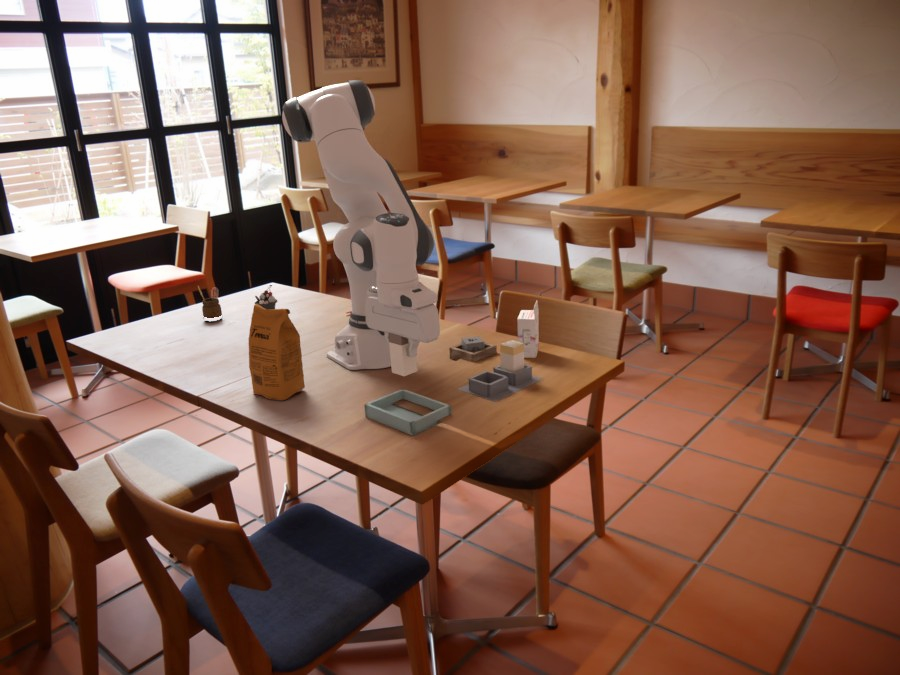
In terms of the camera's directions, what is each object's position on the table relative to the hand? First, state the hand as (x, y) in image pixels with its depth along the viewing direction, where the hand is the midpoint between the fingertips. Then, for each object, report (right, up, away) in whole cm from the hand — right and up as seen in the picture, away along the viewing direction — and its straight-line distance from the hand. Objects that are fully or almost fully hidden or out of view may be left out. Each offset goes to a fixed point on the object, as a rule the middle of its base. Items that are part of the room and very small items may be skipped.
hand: (403, 354), depth 160 cm
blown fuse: (0, -4, +1) cm, 4 cm away
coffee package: (-32, -10, +22) cm, 40 cm away
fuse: (+25, -6, +22) cm, 34 cm away
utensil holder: (-68, +9, +85) cm, 110 cm away
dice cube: (+16, -2, +41) cm, 44 cm away
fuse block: (+22, -9, +19) cm, 31 cm away
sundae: (-46, +5, +69) cm, 83 cm away
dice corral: (+16, -2, +41) cm, 44 cm away
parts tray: (+1, -14, +5) cm, 15 cm away
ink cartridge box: (+31, -2, +40) cm, 51 cm away
